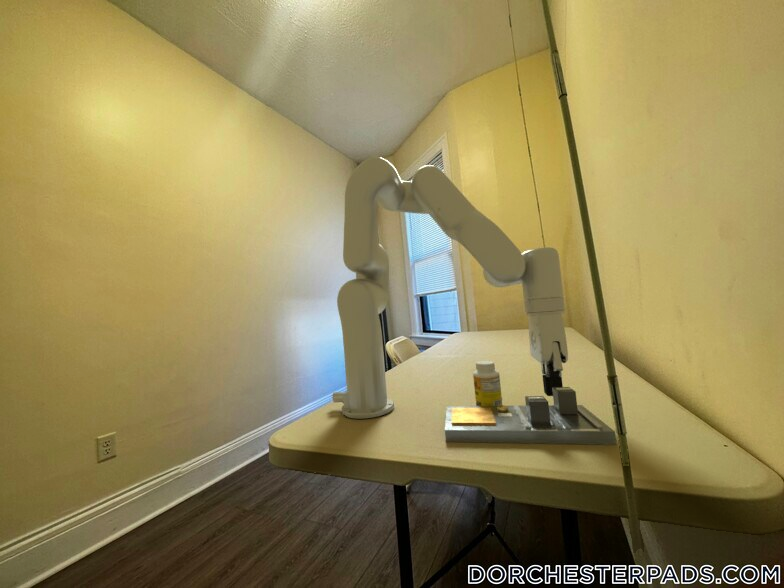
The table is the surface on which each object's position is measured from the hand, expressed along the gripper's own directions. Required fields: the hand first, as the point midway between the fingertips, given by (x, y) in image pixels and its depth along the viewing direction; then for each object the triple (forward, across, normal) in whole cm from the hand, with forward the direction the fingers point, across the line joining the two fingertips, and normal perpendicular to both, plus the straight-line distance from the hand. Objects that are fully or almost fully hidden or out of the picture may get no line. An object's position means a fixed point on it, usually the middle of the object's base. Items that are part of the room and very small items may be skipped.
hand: (553, 394), depth 60 cm
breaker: (+1, +7, 0) cm, 7 cm away
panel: (+3, +9, -9) cm, 13 cm away
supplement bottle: (+3, -1, -13) cm, 13 cm away
